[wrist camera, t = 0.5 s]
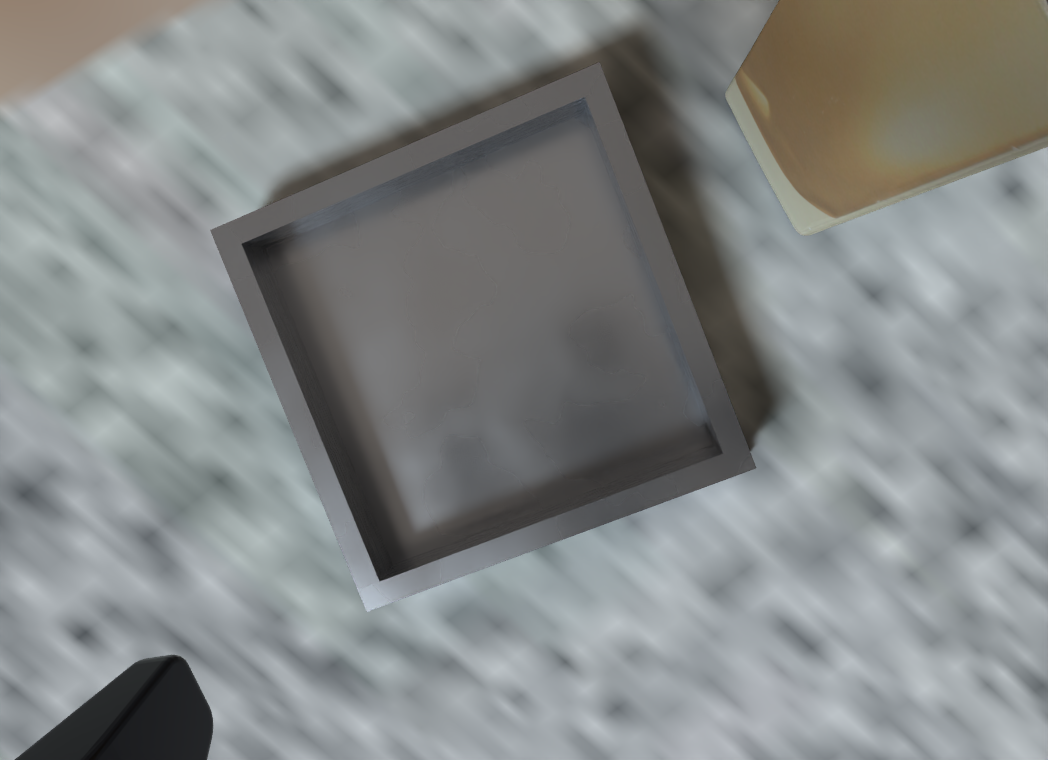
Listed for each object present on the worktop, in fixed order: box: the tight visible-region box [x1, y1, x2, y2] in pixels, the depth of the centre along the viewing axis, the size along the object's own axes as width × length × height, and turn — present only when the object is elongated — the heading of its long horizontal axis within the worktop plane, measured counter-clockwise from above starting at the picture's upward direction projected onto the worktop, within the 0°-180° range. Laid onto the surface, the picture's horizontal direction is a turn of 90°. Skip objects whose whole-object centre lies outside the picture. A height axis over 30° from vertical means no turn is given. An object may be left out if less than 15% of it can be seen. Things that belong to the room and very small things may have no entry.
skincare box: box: [725, 0, 1048, 236], centre depth 13 cm, size 6×4×12 cm
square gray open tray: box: [210, 62, 756, 612], centre depth 19 cm, size 10×10×2 cm
